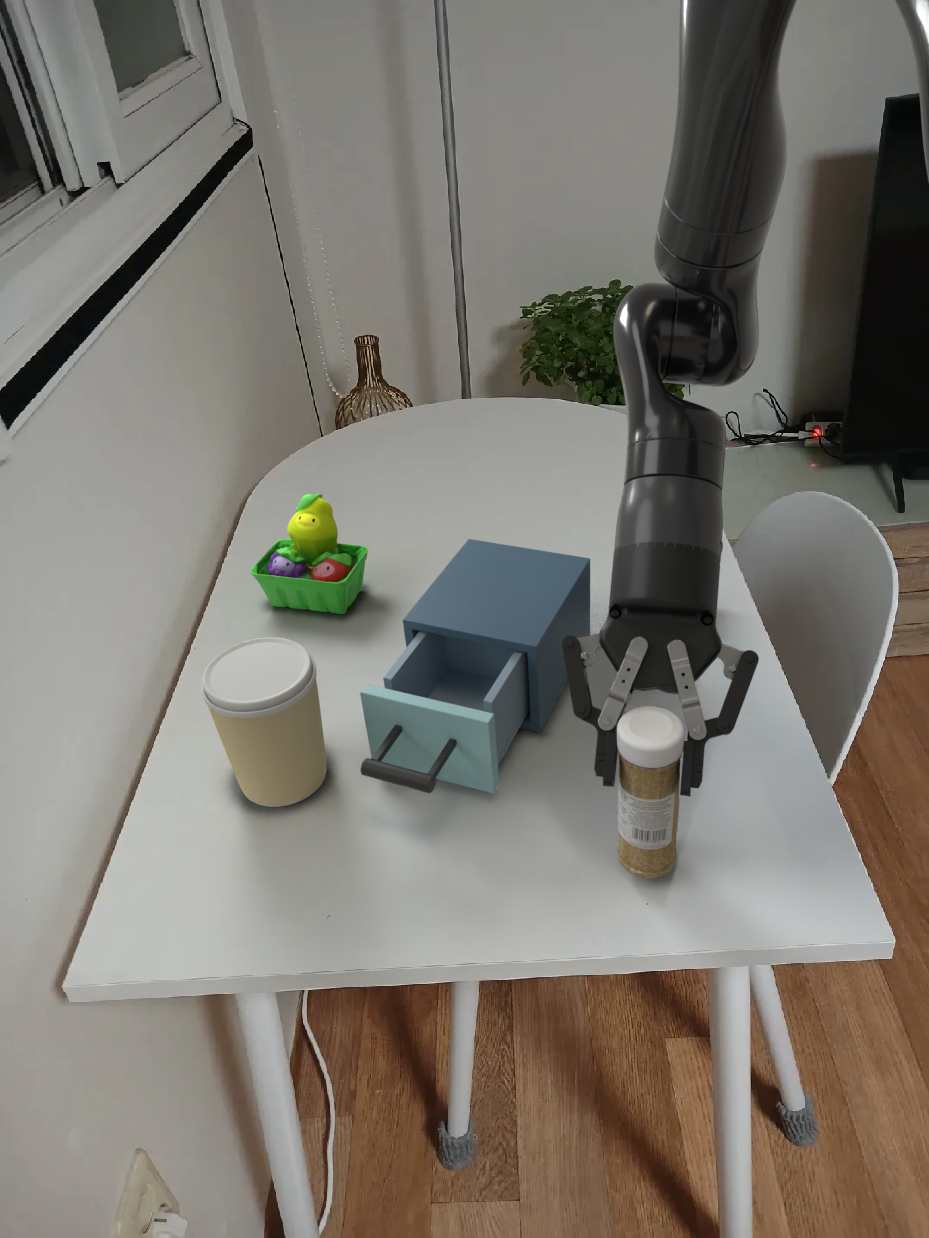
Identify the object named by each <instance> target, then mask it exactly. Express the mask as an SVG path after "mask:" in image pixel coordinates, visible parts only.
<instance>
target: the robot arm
mask: <svg viewBox="0 0 929 1238" xmlns="http://www.w3.org/2000/svg"><path fill="white" fill-rule="evenodd" d="M797 1H798V0H679V36H678V37H679V38H678V39H679V40H678V43H679V44H678V81H677V82H678V84H677V102H676V113H675V114H676V115H675V125H674V133H673V141H672V147H671V154H670V160H669V166H668V170H667V174H666V175H667V176H666V181H665V186H664V192H663V197H662V201H661V202H662V203H661V207H660V213H659V219H658V224H657V229H656V233H655V238H654V239H655V240H654V247H653V248H654V249H653V257H654V264H655V267H656V269H657V271H658V273H659V274H660V276H661V277H662V278H663V280H665V281H666V282H667V283H666V282H665V283H664V282H644V283H641V284H638V285H636V286H634V287H633V288H631V289H630V290H629V291H628V292H627V293H626V294H625V296H624V297H623V298H622V300H621V301H620V303H619V305H618V306H617V309H616V312H615V316H614V320H613V326H612V327H613V329H612V339H613V346H614V353H615V358H616V359H615V360H616V364H617V367H618V372H619V376H620V380H621V384H622V389H623V390H622V391H623V394H624V401H625V408H626V409H625V410H626V421H627V439H626V440H627V441H626V453H625V454H626V455H625V456H626V457H625V464H624V465H625V466H624V476H623V477H624V478H623V488H622V494H621V498H620V499H621V500H620V503H619V507H618V512H617V516H616V517H617V518H616V523H615V524H616V525H615V536H614V546H613V558H612V567H611V579H610V590H609V599H608V601H609V602H608V610H607V611H608V612H607V617H606V620H605V622H604V624H603V625H602V626H601V628H600V630H599V633H596V634H590V636H585V637H580V638H576V637H574V636H566V637H565V638H564V639H563V641H562V649H563V655H564V660H565V666H566V672H567V678H568V682H567V684H568V689H569V695H570V700H571V706H572V711H573V714H574V716H575V717H576V718H578V719H580V720H581V721H584V722H585V723H588V724H590V725H591V726H593V727H594V728H595V730H596V733H597V734H596V735H597V736H596V746H595V757H594V767H593V768H594V769H593V770H594V773H595V776H596V777H598V778H602V786H603V787H609V788H615V786H616V779H617V768H618V758H619V752H618V748H617V725H618V722H619V720H620V718H621V717H622V716H623V715H624V714H625V711H626V709H627V707H628V705H629V703H630V701H631V698H632V696H633V695H634V692H635V691H638V692H647V691H653V690H654V691H655V690H658V691H660V692H663V693H665V694H670V695H671V694H672V695H678V697H679V702H680V706H681V710H682V713H683V717H684V722H685V725H686V729H687V735H686V740H685V739H684V749H683V753H682V763H681V764H682V765H681V774H680V787H679V796H682V797H691V791H692V789H699V788H700V786H701V784H702V783H703V775H704V761H705V759H704V758H705V748H706V743H707V742H708V741H709V740H711V739H714V738H717V737H718V738H719V737H720V736H728V735H730V734H731V733H732V732H733V731H734V729H735V727H736V724H737V721H738V719H739V715H740V713H741V710H742V708H743V705H744V703H745V699H746V697H747V694H748V691H749V689H750V685H751V683H752V681H753V677H754V675H755V672H756V669H757V666H758V664H759V661H760V657H759V655H758V653H757V652H756V651H754V650H752V649H747V650H742V649H739V648H736V647H733V646H731V645H727V644H725V643H723V642H722V639H721V636H720V635H719V632H718V630H717V614H718V613H717V612H718V601H719V587H720V573H721V561H722V552H723V549H724V543H723V533H724V512H723V485H724V472H725V471H724V470H725V458H726V445H727V428H726V423H725V421H724V419H723V418H722V416H721V415H720V414H719V413H717V412H716V411H715V410H713V409H711V408H708V407H706V406H704V405H701V404H698V403H695V402H692V401H689V400H687V399H684V398H682V397H680V396H677V395H675V394H673V393H672V392H671V391H670V390H669V389H668V388H667V387H666V385H665V384H666V383H667V384H676V385H677V384H678V385H688V386H701V387H714V388H717V387H718V388H719V387H726V386H730V385H732V384H733V383H736V382H738V381H739V380H740V379H741V378H742V377H744V376H745V375H746V373H747V372H748V371H749V370H750V369H751V367H752V365H753V364H754V362H755V360H756V356H757V354H758V347H759V337H760V329H759V327H760V323H759V310H758V296H757V295H758V294H757V293H758V290H757V289H758V274H759V268H760V263H761V258H762V253H763V249H764V247H765V243H766V240H767V237H768V233H769V230H770V227H771V225H772V221H773V218H774V214H775V212H776V208H777V204H778V202H779V201H778V200H779V197H780V194H781V189H782V186H783V183H784V178H785V172H786V167H787V155H788V143H787V142H788V139H787V138H788V137H787V128H786V122H785V116H784V110H783V106H782V101H781V94H780V87H779V85H780V83H779V77H780V61H781V55H782V49H783V45H784V40H785V36H786V33H787V30H788V26H789V23H790V20H791V18H792V15H793V12H794V10H795V6H796V4H797ZM894 3H895V5H896V7H897V10H898V11H899V13H900V15H901V17H902V20H903V23H904V26H905V28H906V30H907V34H908V36H909V38H910V42H911V47H912V51H913V56H914V61H915V69H916V76H917V77H916V78H917V84H918V94H919V95H918V96H919V104H920V121H921V132H922V133H921V134H922V144H923V152H924V160H925V169H926V177H927V181H928V183H929V0H894ZM600 649H602V651H603V652H604V654H605V655H606V657H607V658H608V660H609V662H610V663H611V665H612V667H613V668H614V670H615V672H616V675H615V678H614V680H613V683H612V685H611V687H610V689H609V692H608V695H607V699H606V700H605V702H604V705H603V708H602V709H600V708H598V707H596V706H594V705H593V699H592V693H591V688H590V682H589V677H588V672H587V671H588V670H587V667H588V668H589V667H591V666H592V665H593V664H594V663H595V659H596V657H595V655H596V653H597V651H598V650H600ZM717 658H718V659H720V660H721V661H722V664H723V669H722V673H723V675H724V677H725V678H726V679H728V680H731V682H730V684H729V687H728V689H727V692H726V695H725V698H724V701H723V703H722V706H721V708H720V711H719V714H718V716H716V717H713V718H709V719H705V718H704V714H703V710H702V706H701V702H700V698H699V693H698V690H697V685H696V682H697V681H698V679H699V678H700V677H701V676H702V675H704V673H705V672H706V671H707V669H708V668H710V666H711V665H712V664H713V663H714V662H715V660H716V659H717Z"/></svg>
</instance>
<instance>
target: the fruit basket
mask: <svg viewBox="0 0 929 1238" xmlns="http://www.w3.org/2000/svg"><path fill="white" fill-rule="evenodd" d="M295 511H296V512H295V514H294V515H292V517H291V519H290V520H289V522H288V525H287V529H286V532H287V534H288V536H289V538H282V539H279V540H277V541H275V543H273V544H272V546H271V547H270V548H268V550H267V551H266V552H265V553H264V554H263V555H262V557H260V559H259V560H258V561H257V562H256V563H255V564H254V565H253V566H252V568H251V569H250V574H251V575H252V577H253V578H254V579H255V580H256V581H257V583H258V584H259V586H260V587H261V589H262V591H263V592H264V594H265V596H266V597H267V599H268V601H269V602H270V604H271V605H272V606H273V607H278V608H290V609H296V610H310V611H312V612H313V611H314V612H320V613H328V612H329V613H332V614H338V615H345V614H346V613H347V612H348V608H350V607H351V606H352V604H353V603H354V601H355V600H356V599H357V597H358V594H359V593H361V591H362V589H363V582H364V575H365V574H364V573H365V568H366V567H365V565H366V560H367V559H368V552H369V548H368V547H367V546H364V545H357V544H348V543H339V542H338V537H339V536H338V535H339V534H338V525H337V523H336V521H335V519H334V513H333V506H332V505H331V503H329V502H328V501H327V500H326V499H324V498H323V494H322V493H316V494H313V493H306V494H305V495H303V496H302V497H301V498H300V501H299V502H298V505H297V507H296V508H295Z"/></svg>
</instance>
